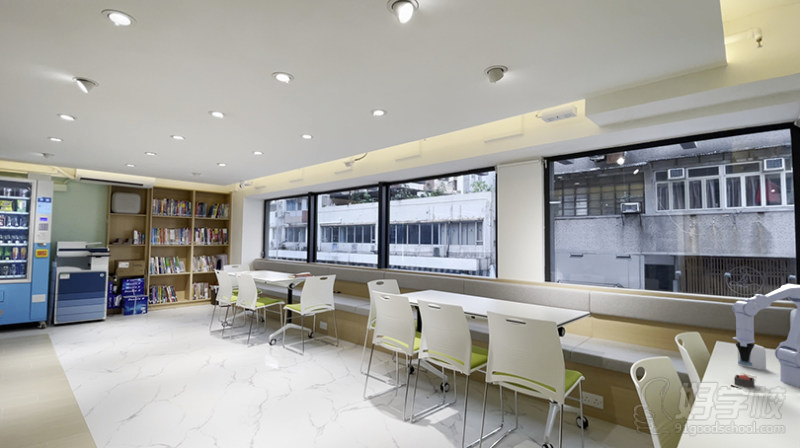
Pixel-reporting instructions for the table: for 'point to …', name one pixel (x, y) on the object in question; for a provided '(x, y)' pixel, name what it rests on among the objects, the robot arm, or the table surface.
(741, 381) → the game board
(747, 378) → the dome
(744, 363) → the pawn
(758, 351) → the photo printer
